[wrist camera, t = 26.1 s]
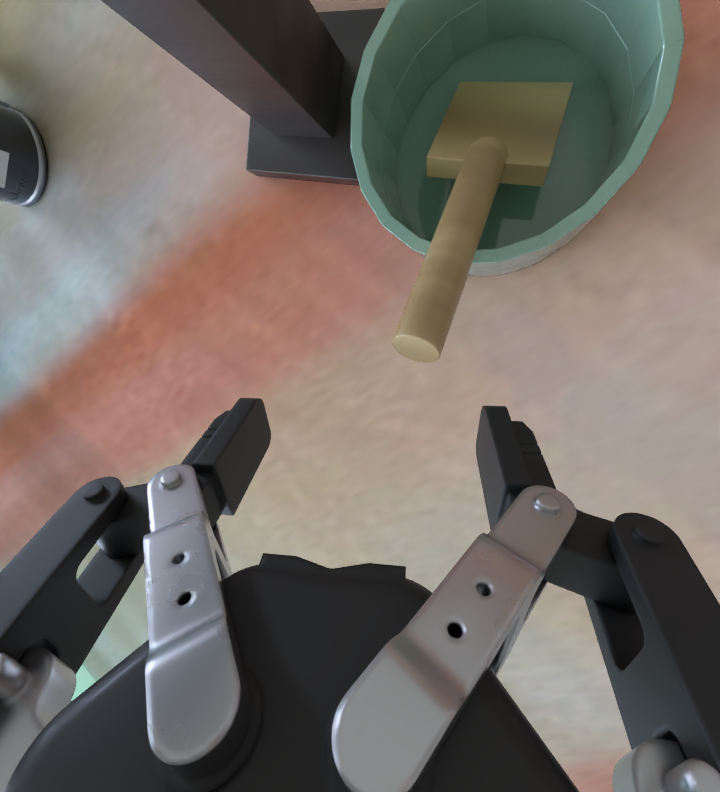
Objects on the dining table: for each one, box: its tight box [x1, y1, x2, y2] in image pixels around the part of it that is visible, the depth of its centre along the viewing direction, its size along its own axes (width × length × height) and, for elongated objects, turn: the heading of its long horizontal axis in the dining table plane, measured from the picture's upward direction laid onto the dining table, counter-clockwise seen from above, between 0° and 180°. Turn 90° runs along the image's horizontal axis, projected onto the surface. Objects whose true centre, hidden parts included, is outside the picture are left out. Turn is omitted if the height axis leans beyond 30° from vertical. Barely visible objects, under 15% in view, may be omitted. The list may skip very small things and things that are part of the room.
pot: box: [350, 0, 685, 276], centre depth 21 cm, size 14×14×8 cm
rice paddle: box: [392, 81, 573, 362], centre depth 19 cm, size 19×6×2 cm
